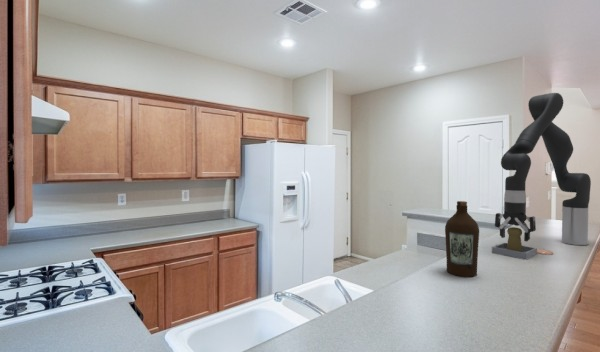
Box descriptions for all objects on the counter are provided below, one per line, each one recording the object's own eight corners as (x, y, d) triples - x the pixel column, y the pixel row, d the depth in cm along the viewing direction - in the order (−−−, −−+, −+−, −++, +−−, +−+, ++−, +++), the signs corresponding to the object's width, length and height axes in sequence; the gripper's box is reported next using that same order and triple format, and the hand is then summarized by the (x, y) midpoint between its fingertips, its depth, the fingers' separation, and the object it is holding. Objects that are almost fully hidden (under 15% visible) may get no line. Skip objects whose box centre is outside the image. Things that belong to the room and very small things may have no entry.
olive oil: (446, 266, 117) (446, 199, 116) (478, 270, 111) (479, 200, 111) (443, 274, 107) (443, 202, 107) (479, 280, 102) (479, 204, 101)
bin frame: (504, 248, 141) (504, 242, 141) (537, 254, 131) (537, 248, 131) (492, 252, 133) (492, 247, 133) (526, 259, 123) (526, 253, 123)
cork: (517, 251, 135) (518, 226, 134) (526, 255, 129) (526, 229, 128) (502, 251, 135) (503, 226, 135) (510, 255, 129) (511, 229, 129)
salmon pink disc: (535, 249, 138) (535, 247, 138) (555, 252, 132) (555, 251, 132) (530, 252, 134) (530, 250, 134) (550, 255, 128) (550, 254, 128)
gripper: (538, 202, 128) (537, 241, 128) (499, 199, 139) (499, 235, 140) (531, 203, 123) (531, 244, 124) (492, 200, 135) (492, 237, 135)
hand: (514, 239), depth 132 cm, fingers open, 8 cm apart
